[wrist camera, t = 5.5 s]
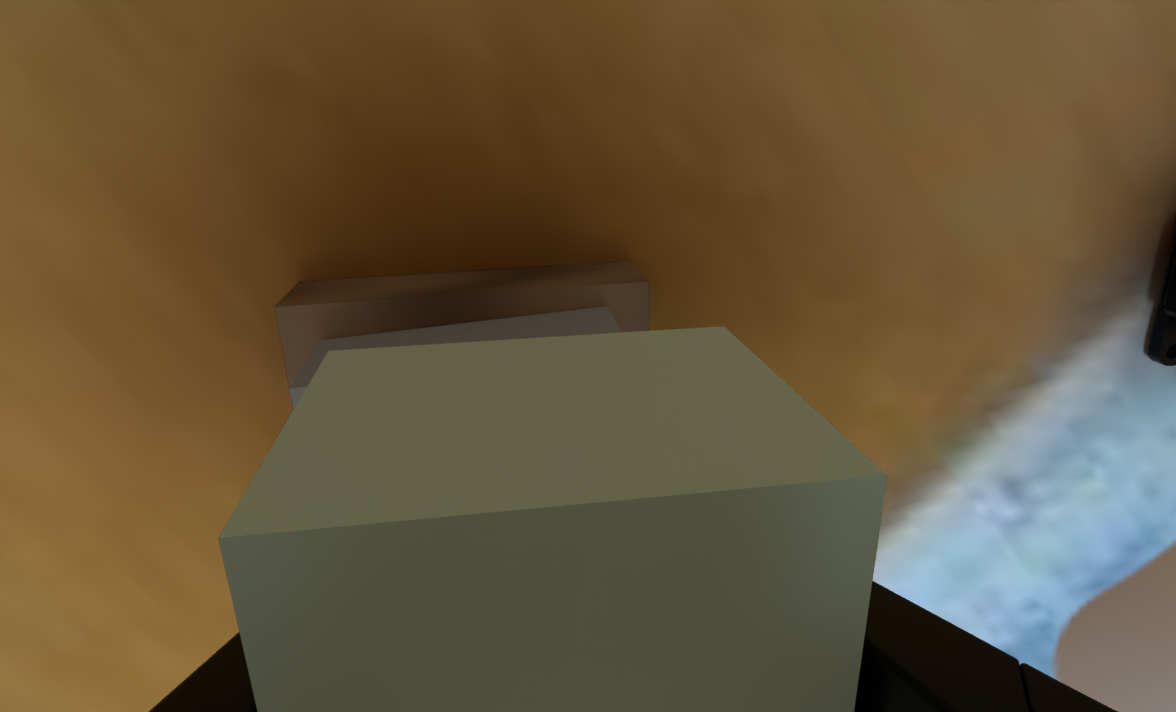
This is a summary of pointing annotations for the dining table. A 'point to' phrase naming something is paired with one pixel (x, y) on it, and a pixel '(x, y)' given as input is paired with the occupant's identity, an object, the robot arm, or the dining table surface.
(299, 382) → the tower top block
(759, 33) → the dining table surface
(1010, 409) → the dining table surface
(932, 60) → the dining table surface
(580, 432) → the sage green block
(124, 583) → the dining table surface
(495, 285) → the tower base block
